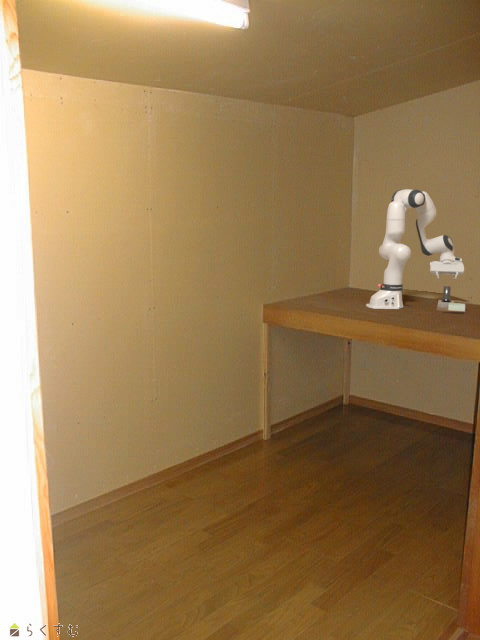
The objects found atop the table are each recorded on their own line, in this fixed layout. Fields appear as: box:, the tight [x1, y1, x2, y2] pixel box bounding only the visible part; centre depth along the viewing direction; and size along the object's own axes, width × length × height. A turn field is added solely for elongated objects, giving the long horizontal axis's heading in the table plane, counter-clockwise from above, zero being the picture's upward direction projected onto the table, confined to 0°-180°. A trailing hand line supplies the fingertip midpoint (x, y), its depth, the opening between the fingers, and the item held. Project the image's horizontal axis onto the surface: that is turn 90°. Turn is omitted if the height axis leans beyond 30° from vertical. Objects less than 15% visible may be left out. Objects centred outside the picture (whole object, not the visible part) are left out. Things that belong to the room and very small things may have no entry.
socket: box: [437, 299, 455, 307], centre depth 358 cm, size 9×9×3 cm
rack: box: [448, 302, 466, 312], centre depth 347 cm, size 9×9×3 cm
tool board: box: [436, 303, 467, 315], centre depth 353 cm, size 22×16×2 cm
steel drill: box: [442, 285, 452, 302], centre depth 357 cm, size 4×4×12 cm
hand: (446, 278), depth 365 cm, fingers open, 8 cm apart
